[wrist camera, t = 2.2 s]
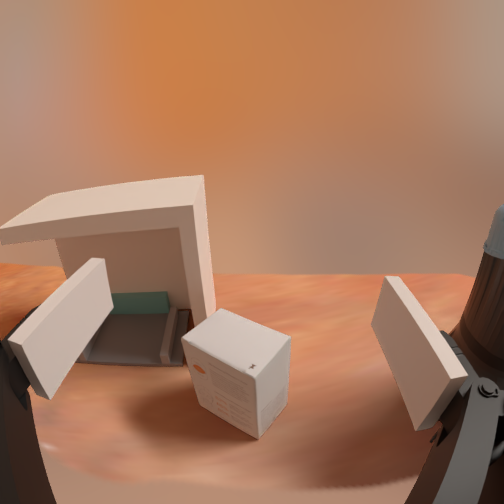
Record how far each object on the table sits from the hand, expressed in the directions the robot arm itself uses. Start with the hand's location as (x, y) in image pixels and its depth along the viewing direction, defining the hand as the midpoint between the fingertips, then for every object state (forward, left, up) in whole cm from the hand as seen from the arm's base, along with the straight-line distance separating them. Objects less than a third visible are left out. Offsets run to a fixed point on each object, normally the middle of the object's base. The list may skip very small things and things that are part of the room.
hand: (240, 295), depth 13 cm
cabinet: (+21, +15, -20) cm, 33 cm away
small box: (+8, 0, -20) cm, 22 cm away
